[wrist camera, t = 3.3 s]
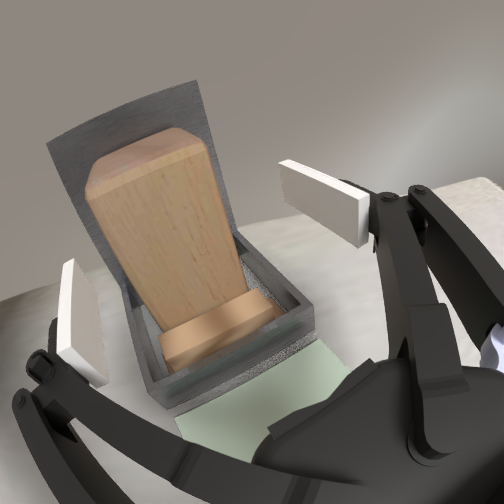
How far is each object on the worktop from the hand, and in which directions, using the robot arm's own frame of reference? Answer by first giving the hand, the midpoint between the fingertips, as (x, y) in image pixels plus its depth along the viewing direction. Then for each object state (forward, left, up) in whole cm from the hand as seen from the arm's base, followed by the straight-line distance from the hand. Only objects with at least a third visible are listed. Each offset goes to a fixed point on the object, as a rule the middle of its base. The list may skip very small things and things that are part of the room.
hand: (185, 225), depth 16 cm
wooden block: (0, +11, -17) cm, 20 cm away
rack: (0, +9, -17) cm, 19 cm away
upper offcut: (-1, +4, -15) cm, 16 cm away
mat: (0, -6, -17) cm, 18 cm away
